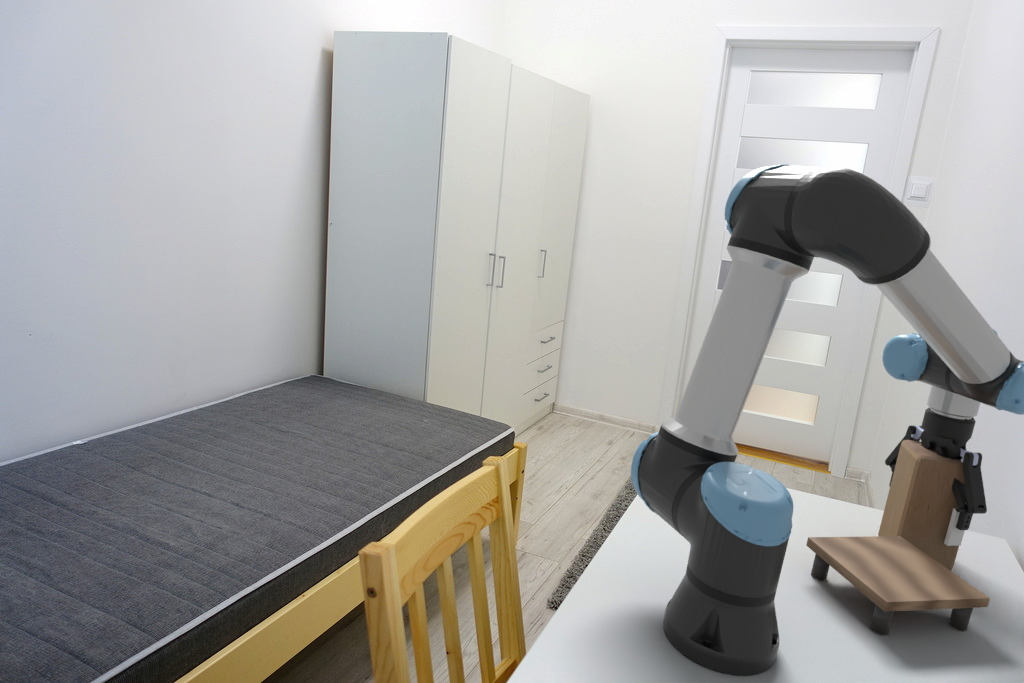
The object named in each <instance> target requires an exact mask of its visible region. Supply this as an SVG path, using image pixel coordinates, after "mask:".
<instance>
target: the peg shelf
mask: <svg viewBox="0 0 1024 683" xmlns="http://www.w3.org/2000/svg"><path fill="white" fill-rule="evenodd" d="M806 547H808V548H809V550H811V551H812V552H813V553H815V554H814V558H813V559H814V560H813V563H812V568H811V573H810V575H811V577H812V578H814V579H815V580H819V581H826V580H827V578H828V573H829V570H830V568H832V569H834V570H835V571H836V572H837V573H838V574H839V575H841V576H842V578H844V579H846V580H847V582H849V583H850V585H853V586H854V587H855V588H856V589H857V590H859V592H861V594H863V595H864V596H865V597H867V598H868V599H869V600H870V601H871V602H872V603H874V610H873V614H872V617H871V621H870V625H869V628H870V630H871V631H872V632H873V633H875V634H878V635H881V636H887V635H889V632H890V628H891V624H892V620H893V617H894V613H895V612H905V611H907V612H909V611H910V612H911V611H925V610H926V611H929V610H932V611H933V610H951V612H950V615H949V616H950V617H949V620H948V625H949V626H950V627H951V628H953V629H954V630H957V631H961V632H967V630H968V627H969V624H970V622H971V621H970V620H971V616H972V614H973V610H974V609H976V608H977V609H980V608H988V607H989V603H990V601H991V598H990V597H989V595H986V594H985V593H983V592H982V591H980V590H979V589H977V588H976V587H974V586H973V585H972V584H970V583H969V582H967V581H966V580H965V579H963V578H962V577H960V575H957V574H956V573H954V572H953V571H952V570H951V571H950V570H948V569H947V568H946V567H944V566H943V565H941V564H940V563H938V562H937V561H935V560H934V559H932V558H931V557H930V556H928V555H927V554H925V553H924V552H922V551H921V550H919V549H918V548H916V547H915V546H913V545H912V544H911V543H909V542H908V541H906V540H905V539H903V538H902V537H900V536H879V535H878V536H876V535H875V536H808V537H807V541H806Z"/></svg>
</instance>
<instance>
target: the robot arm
mask: <svg viewBox="0 0 1024 683" xmlns="http://www.w3.org/2000/svg"><path fill="white" fill-rule="evenodd" d="M724 220H725V221H726V223H727V224H726V225H725V226H726V228H727V231H728V232H729V234H730V238H729V240H728V244H727V246H726V250H727V252H728V254H729V257H730V259H731V262H732V263H731V266H730V269H729V271H728V275H727V277H726V279H725V283H724V285H723V288H722V290H721V294H720V296H719V299H718V301H717V304H716V307H715V309H714V312H713V314H712V317H711V320H710V323H709V326H708V328H707V331H706V332H705V333H706V334H705V336H704V340H703V341H702V344H701V347H700V349H699V352H698V355H697V358H696V360H695V363H694V365H693V366H694V367H693V369H692V371H691V374H690V375H689V379H688V383H687V384H686V386H685V387H686V388H685V389H684V393H683V396H682V399H681V401H680V404H679V406H678V408H677V412H676V414H675V415H674V416H673V417H670V418H668V419H666V420H663V421H662V423H661V425H660V428H659V430H658V431H657V432H656V431H655V432H654V433H652V434H650V435H649V436H648V439H645V440H642V441H641V443H639V445H638V447H637V448H636V450H635V452H634V455H633V457H632V461H631V465H630V478H631V482H632V486H633V488H634V491H635V493H636V494H637V495H638V497H639V498H640V499H641V500H642V501H643V503H644V504H645V505H646V507H647V508H648V509H649V510H650V511H651V512H652V513H655V514H656V515H657V516H659V517H660V518H661V519H663V521H664V522H666V524H667V525H669V527H671V529H674V531H676V532H677V533H678V534H679V535H680V536H682V537H683V538H684V539H685V540H686V541H688V543H689V544H690V549H689V552H688V553H689V555H688V559H687V564H686V566H687V567H686V570H685V574H684V576H683V578H682V580H681V581H680V583H679V584H678V586H677V588H676V590H675V592H674V594H673V595H672V597H671V599H670V600H669V601H668V602H667V604H666V607H665V611H664V616H663V622H662V626H663V627H662V628H663V631H664V634H665V636H666V638H667V640H669V642H670V643H671V645H673V647H674V648H675V649H676V650H677V651H679V653H681V654H682V655H684V656H685V657H687V658H688V659H690V660H691V661H693V662H694V663H697V664H699V665H700V666H703V667H706V668H708V669H711V670H714V671H717V672H720V673H725V674H731V675H739V676H745V675H746V676H748V675H755V674H760V673H763V672H766V671H767V670H769V669H770V668H771V667H772V666H773V665H775V662H776V660H777V657H778V652H779V647H780V635H779V633H780V632H779V625H778V618H777V611H776V606H775V598H776V594H777V590H778V587H779V586H778V585H779V581H780V577H781V572H782V569H783V565H784V560H785V556H786V552H787V549H788V545H789V540H790V536H791V534H792V529H793V514H794V502H793V501H794V500H793V497H792V495H791V494H790V492H789V490H788V489H787V487H786V486H785V485H784V484H783V483H782V482H781V481H780V480H778V479H777V478H776V477H774V476H773V475H771V474H770V473H768V472H765V471H764V470H762V469H760V468H759V469H755V468H753V467H752V466H751V465H748V464H744V463H741V462H736V459H737V456H738V454H739V449H738V447H737V445H736V443H735V441H734V434H735V431H736V429H737V427H738V425H739V421H740V419H741V416H742V413H743V411H744V408H745V406H746V404H747V400H748V398H749V395H750V393H751V391H752V388H753V385H754V383H755V379H756V377H757V375H758V372H759V369H760V366H761V364H762V363H763V359H764V356H765V354H766V352H767V348H768V346H769V343H770V340H771V337H772V336H773V333H774V331H775V329H776V328H775V327H776V325H777V322H778V320H779V317H780V315H781V312H782V309H783V307H784V305H785V301H786V298H788V294H789V292H790V289H791V286H792V283H793V282H794V281H796V280H797V279H798V278H801V277H803V276H805V275H807V274H808V273H809V271H810V269H811V267H812V264H813V261H814V259H815V258H821V259H824V260H828V261H831V262H834V263H836V264H838V265H841V266H842V267H844V268H846V269H848V270H849V271H850V272H852V274H854V276H856V278H857V279H858V280H859V281H860V282H862V283H864V284H865V285H866V284H867V285H870V286H876V287H877V288H878V290H880V292H881V293H882V295H884V296H885V298H886V299H888V301H889V302H890V303H891V304H892V305H893V306H894V308H896V310H897V311H898V312H899V313H900V315H902V316H903V318H904V319H905V320H906V321H907V322H908V324H910V326H912V328H913V329H914V330H915V331H916V332H917V333H913V332H912V333H909V334H899V335H895V336H893V337H892V338H891V339H889V340H888V341H887V342H886V344H885V346H884V348H883V351H882V353H883V354H882V363H883V367H884V370H885V371H886V372H887V374H888V375H889V376H891V377H892V378H894V379H896V380H898V381H899V380H900V381H906V382H909V383H910V382H915V381H917V382H921V383H923V384H927V385H929V386H931V388H930V391H929V395H928V398H927V403H926V405H927V406H928V407H927V408H926V409H925V411H924V414H923V419H922V422H921V425H909V426H907V427H908V428H907V429H906V432H905V435H904V436H903V437H902V439H901V440H900V441H899V442H898V444H897V445H896V446H895V447H894V448H893V450H892V452H890V454H889V455H888V456H887V458H886V459H885V460H884V464H885V465H886V466H889V468H890V470H891V472H892V473H891V477H890V480H889V484H888V485H889V487H890V485H891V481H892V477H893V474H894V470H895V466H896V462H897V458H898V454H899V450H900V446H901V443H902V441H903V440H913V441H919V442H922V445H921V446H923V447H924V448H926V449H932V450H934V451H936V453H937V454H938V455H940V456H943V457H945V458H947V457H948V458H950V459H954V460H955V459H956V458H957V459H959V460H960V459H961V462H963V474H964V481H965V484H963V483H962V482H960V481H959V480H957V479H956V478H954V481H953V485H952V490H953V493H954V496H955V499H956V502H957V505H958V508H953V512H952V516H951V519H950V523H949V527H948V530H947V534H946V538H945V541H944V544H946V545H947V546H959V547H960V546H961V545H962V542H963V539H964V535H965V531H968V530H969V529H970V526H971V521H972V518H973V515H974V514H986V513H987V512H988V508H987V501H986V495H985V488H984V481H983V475H982V474H983V473H982V462H983V454H982V453H981V452H973V451H969V450H967V442H969V441H970V440H971V439H972V436H973V433H974V430H975V425H976V423H977V422H976V419H975V417H976V416H978V414H979V409H980V406H981V404H984V405H986V406H990V407H992V408H995V409H996V410H998V411H1006V412H1009V413H1011V414H1016V415H1018V416H1019V415H1021V416H1022V415H1024V360H1020V359H1018V358H1016V357H1015V356H1014V354H1013V353H1012V352H1011V351H1010V350H1009V348H1008V347H1007V346H1006V344H1005V343H1004V342H1003V340H1002V339H1001V337H999V336H998V332H997V331H996V330H995V329H994V328H992V327H991V325H990V324H989V323H988V322H987V320H986V319H985V318H984V316H983V315H982V314H981V312H979V310H978V308H976V306H975V305H974V304H973V303H972V302H971V300H970V299H969V298H968V296H967V295H966V293H965V292H964V291H963V290H962V289H961V287H960V286H959V285H958V284H957V282H956V281H955V280H954V278H953V277H952V276H951V274H950V273H949V272H948V271H947V269H946V268H945V267H944V265H943V264H942V263H941V262H940V261H939V259H938V257H936V256H935V254H934V253H933V251H931V245H932V244H931V243H932V242H931V236H930V234H929V232H928V231H927V229H926V228H925V227H924V226H923V224H922V223H921V222H920V221H919V219H918V218H917V217H916V216H915V215H914V213H913V212H912V211H911V210H910V209H909V208H908V207H907V206H906V205H905V204H904V203H903V202H902V201H901V200H900V199H899V198H898V197H896V196H895V195H894V193H891V191H890V190H888V189H887V188H886V187H885V186H883V185H882V184H880V183H878V181H875V179H873V178H871V177H869V176H867V175H865V174H863V173H862V172H858V171H855V170H854V169H850V168H845V167H838V166H837V167H831V166H830V167H822V166H821V167H819V166H807V165H805V166H804V165H791V164H788V163H787V164H777V165H770V166H769V165H767V166H766V165H765V166H762V167H758V168H756V169H753V170H751V171H750V172H748V173H746V174H745V175H743V177H741V178H740V179H739V180H738V181H737V183H736V184H735V185H734V186H733V188H732V190H731V191H730V193H729V194H728V197H727V200H726V203H725V208H724ZM962 458H963V459H962ZM965 502H966V504H967V505H966V504H965Z"/></svg>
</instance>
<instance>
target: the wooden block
mask: <svg viewBox="0 0 1024 683" xmlns="http://www.w3.org/2000/svg"><path fill="white" fill-rule="evenodd" d="M921 445H922V442H921V441H913V440H903V441H902V443H901V446H900V450H899V454H898V458H897V462H896V466H895V470H894V474H893V477H892V481H891V485H890V486H889V490H888V493H887V498H886V501H885V502H886V503H885V506H884V510H883V514H882V518H881V523H880V526H879V530H878V533H877V535H878V536H900V537H902V538H903V539H905V540H906V541H908V542H909V543H911V544H912V545H913V546H915V547H916V548H918V549H919V550H921V551H922V552H924V553H925V554H927V555H928V556H930V557H931V558H932V559H934V560H935V561H937V562H938V563H940V564H941V565H943V566H944V567H946V568H947V569H948V570H950V571H951V572H952V571H953V568H954V567H955V566H954V565H955V562H956V559H957V556H958V551H959V547H960V545H959V546H947V545H946V544H944V541H945V538H946V534H947V530H948V527H949V523H950V519H951V516H952V512H953V508H958V505H957V502H956V499H955V496H954V493H953V490H952V485H953V481H954V478H956V479H957V480H959V481H960V482H962V483H963V484H965V481H964V474H963V462H961V459H960V460H959V459H957V458H956V459H955V460H954V459H950V458H948V457H947V458H945V457H943V456H940V455H938V454H937V453H936V451H934V450H932V449H926V448H924V447H923V446H921ZM962 459H963V458H962ZM965 504H966V502H965ZM966 505H967V504H966Z"/></svg>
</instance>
